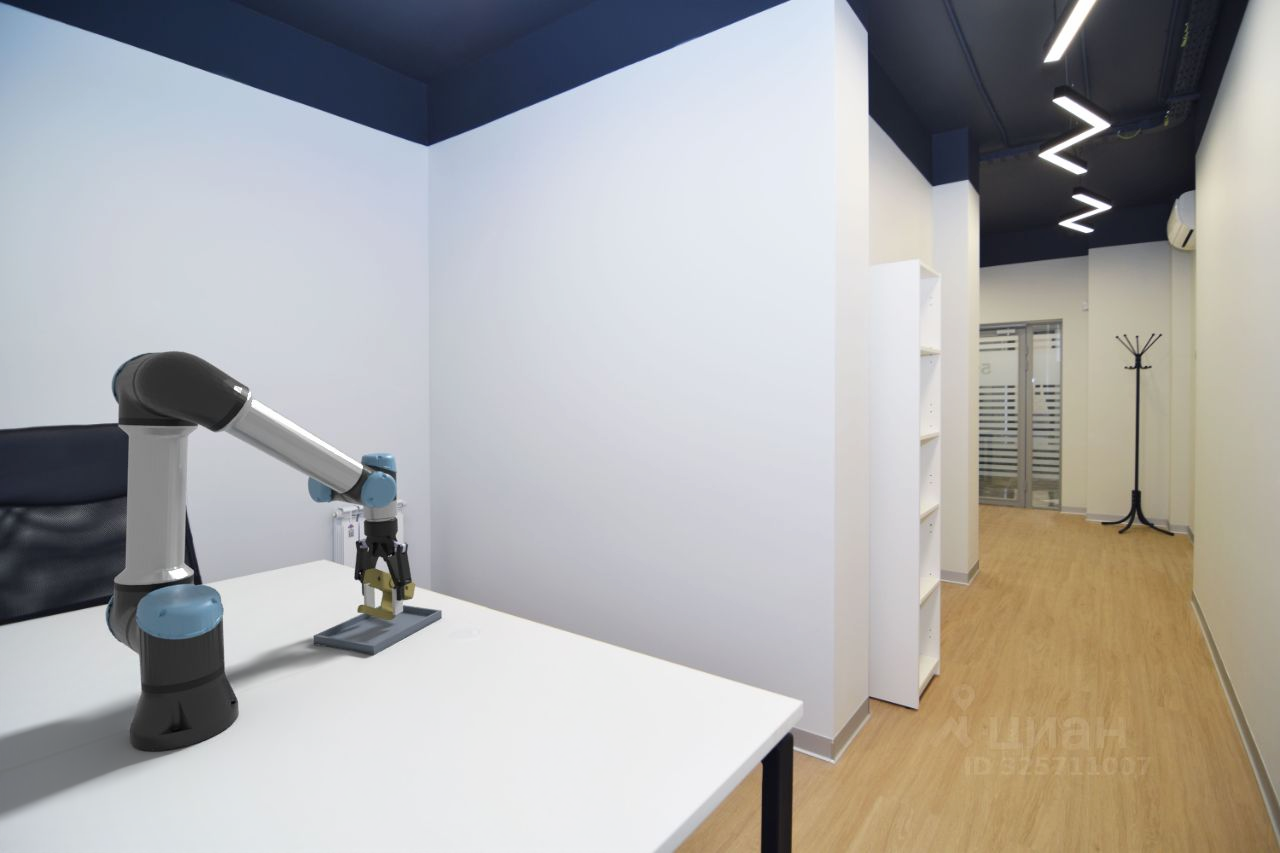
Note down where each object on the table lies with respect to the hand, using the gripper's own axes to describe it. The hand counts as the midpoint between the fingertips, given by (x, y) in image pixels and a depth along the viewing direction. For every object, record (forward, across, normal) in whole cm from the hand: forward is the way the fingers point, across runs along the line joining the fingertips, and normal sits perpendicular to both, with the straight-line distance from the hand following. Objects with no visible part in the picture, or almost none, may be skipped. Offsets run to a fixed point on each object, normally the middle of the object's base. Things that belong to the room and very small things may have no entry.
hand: (383, 610), depth 152 cm
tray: (+4, 0, +2) cm, 5 cm away
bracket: (-3, +3, +1) cm, 4 cm away
